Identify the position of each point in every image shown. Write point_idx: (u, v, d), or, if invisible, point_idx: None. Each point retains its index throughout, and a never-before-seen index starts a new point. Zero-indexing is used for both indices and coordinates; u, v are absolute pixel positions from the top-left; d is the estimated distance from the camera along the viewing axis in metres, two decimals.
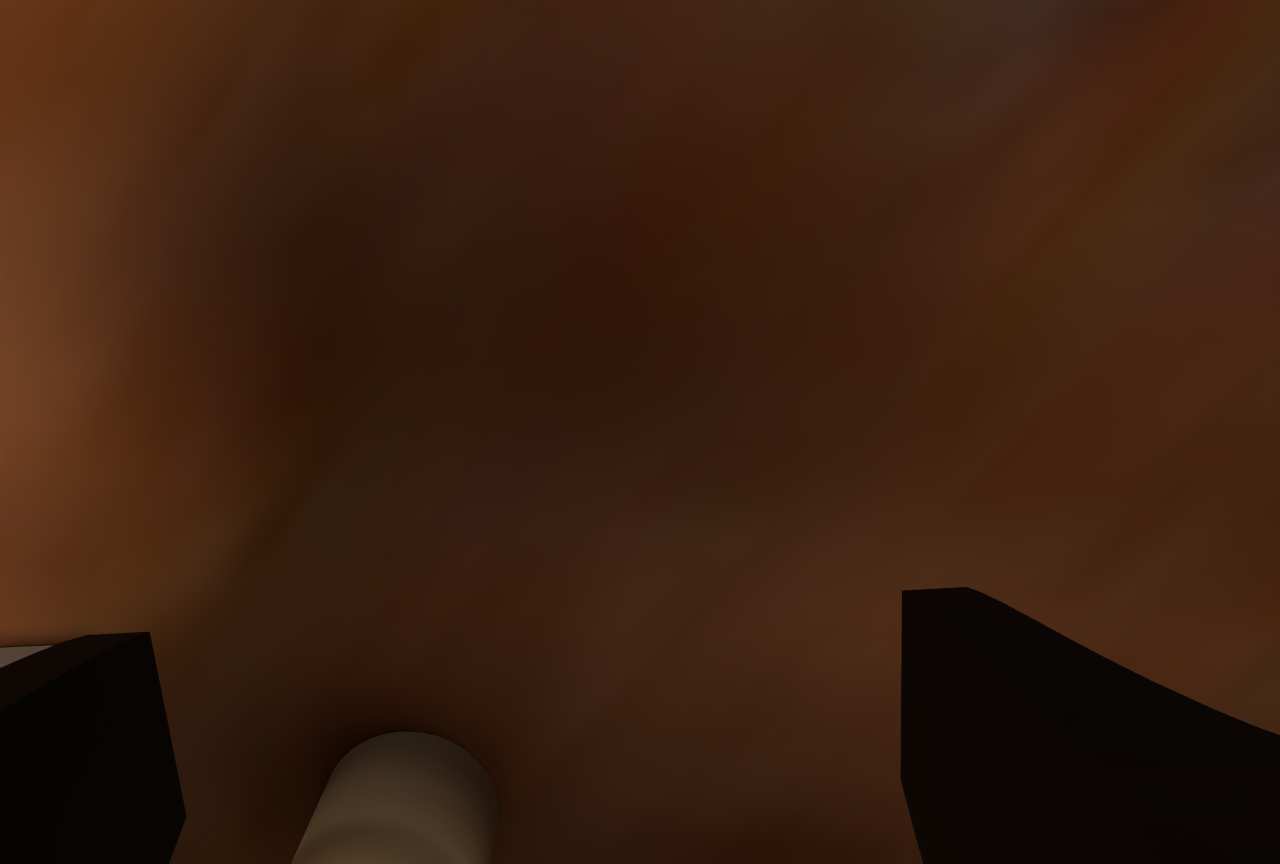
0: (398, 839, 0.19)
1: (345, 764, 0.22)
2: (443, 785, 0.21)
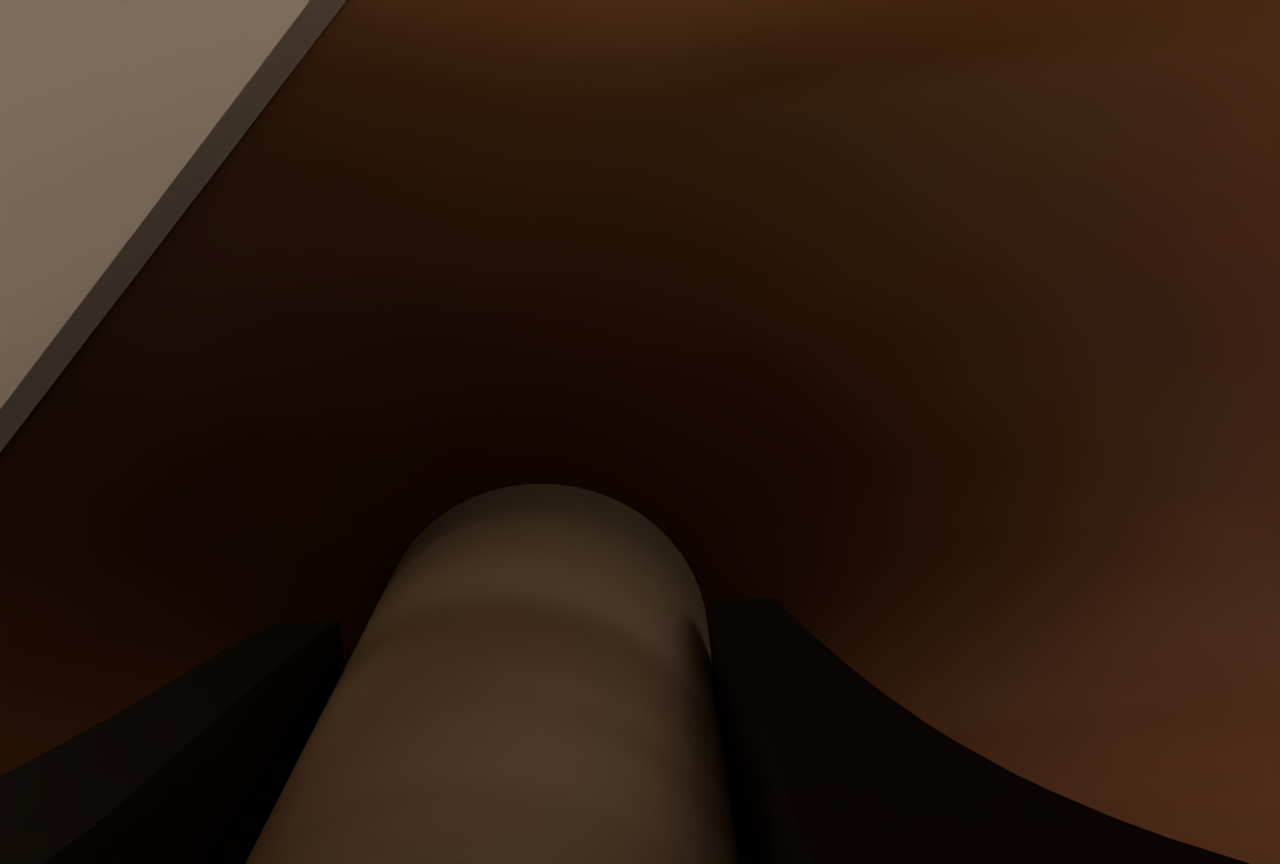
0: (705, 731, 0.09)
1: (552, 500, 0.11)
2: None
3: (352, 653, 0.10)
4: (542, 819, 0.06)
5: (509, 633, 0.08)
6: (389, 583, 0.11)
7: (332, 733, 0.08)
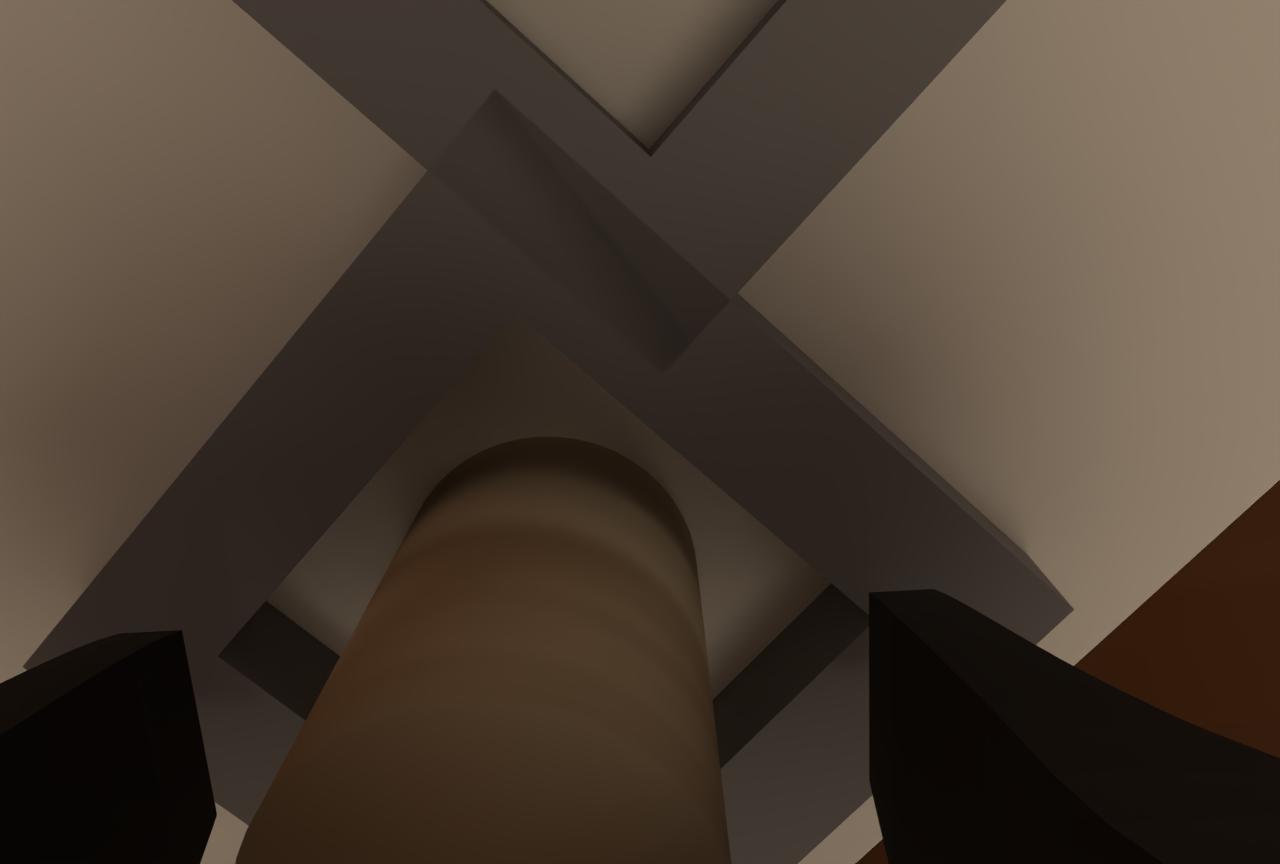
0: (690, 637, 0.10)
1: (556, 450, 0.13)
2: (699, 595, 0.12)
3: None
4: (549, 679, 0.08)
5: (518, 548, 0.10)
6: (412, 523, 0.13)
7: (369, 629, 0.09)
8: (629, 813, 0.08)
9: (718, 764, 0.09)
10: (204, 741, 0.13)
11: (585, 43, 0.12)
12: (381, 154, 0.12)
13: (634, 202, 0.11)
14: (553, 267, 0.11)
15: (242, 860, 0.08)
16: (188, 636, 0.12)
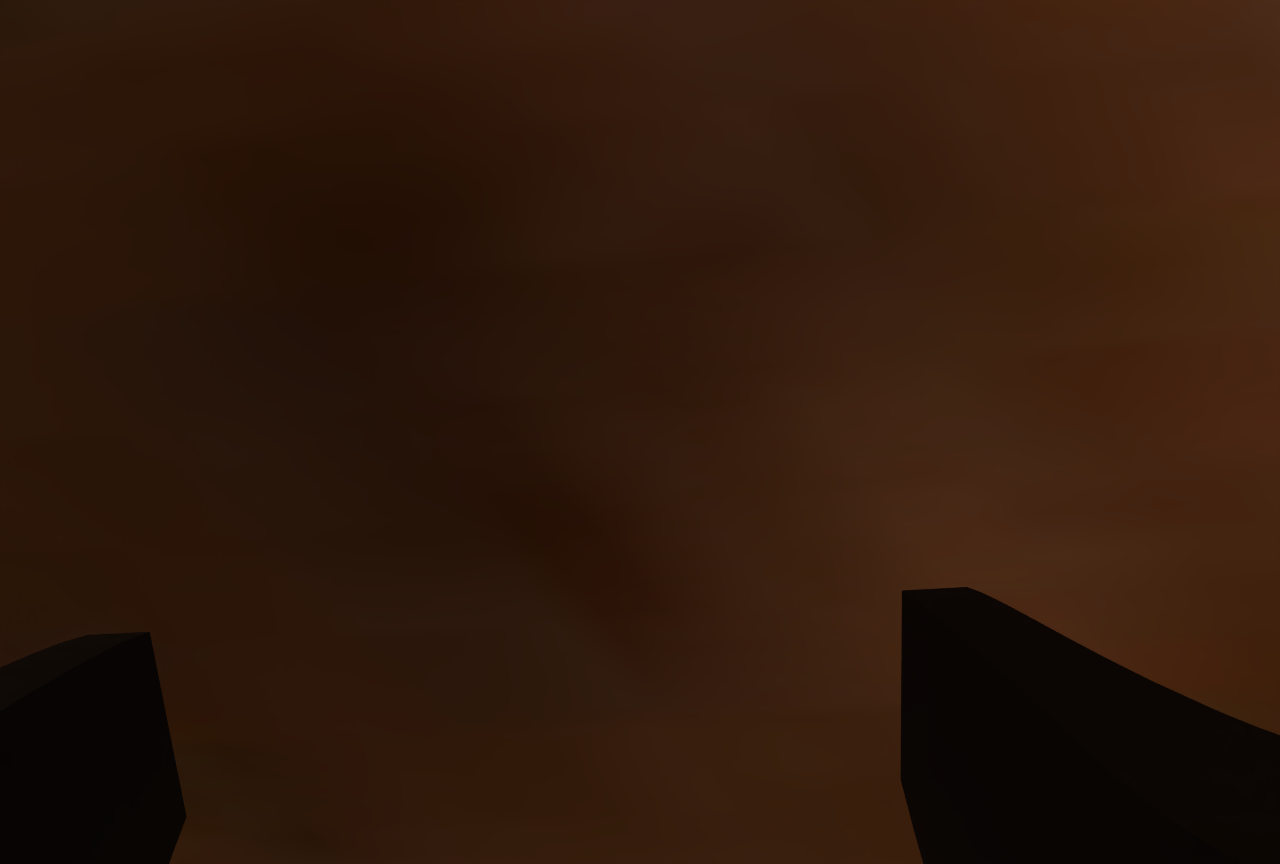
0: None
1: None
2: None
3: None
4: None
5: None
6: None
7: None
8: None
9: None
10: None
11: None
12: None
13: None
14: None
15: None
16: None
